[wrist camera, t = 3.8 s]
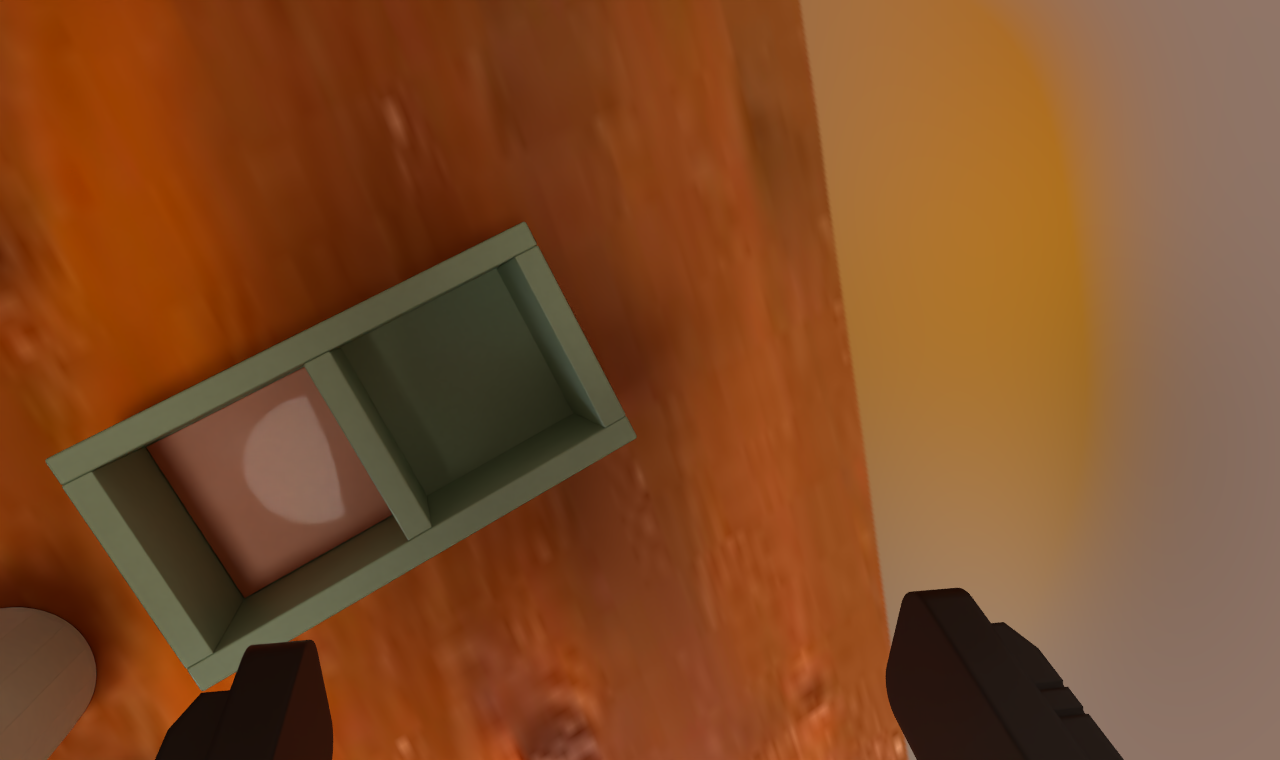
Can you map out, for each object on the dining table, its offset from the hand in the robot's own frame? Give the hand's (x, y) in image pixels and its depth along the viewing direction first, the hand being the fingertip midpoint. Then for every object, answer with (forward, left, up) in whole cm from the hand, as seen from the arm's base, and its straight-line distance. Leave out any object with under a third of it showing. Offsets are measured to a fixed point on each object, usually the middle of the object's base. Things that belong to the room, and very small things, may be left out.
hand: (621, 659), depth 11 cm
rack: (-4, 0, -27) cm, 27 cm away
